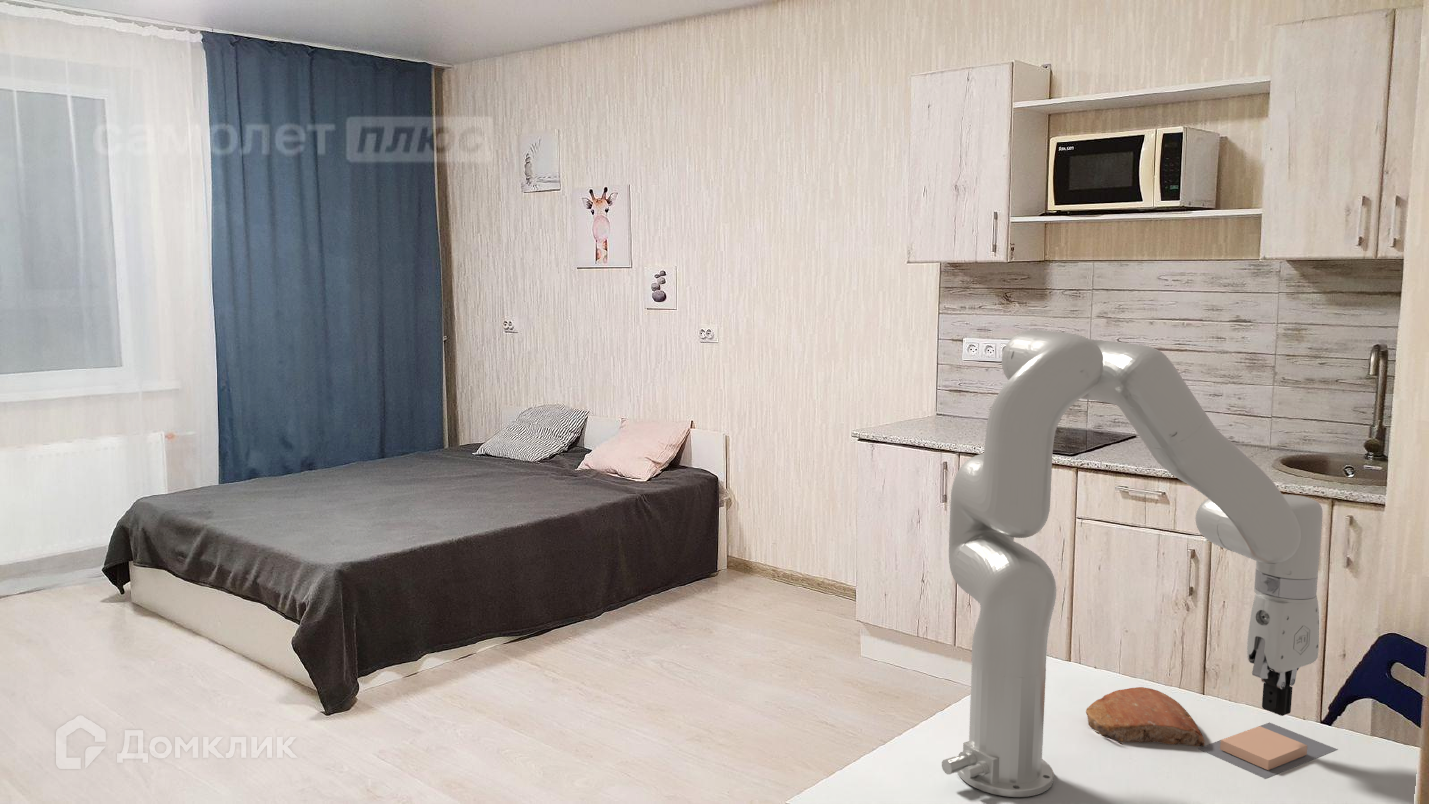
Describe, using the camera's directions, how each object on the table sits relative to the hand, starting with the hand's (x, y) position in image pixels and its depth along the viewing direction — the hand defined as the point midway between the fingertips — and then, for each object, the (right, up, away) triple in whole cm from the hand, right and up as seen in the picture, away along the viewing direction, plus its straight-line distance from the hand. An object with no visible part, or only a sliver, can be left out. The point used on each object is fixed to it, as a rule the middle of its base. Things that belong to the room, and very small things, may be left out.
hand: (1276, 711), depth 144 cm
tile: (+2, -5, +2) cm, 5 cm away
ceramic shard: (-16, -6, +9) cm, 19 cm away
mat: (-1, -6, +1) cm, 6 cm away
